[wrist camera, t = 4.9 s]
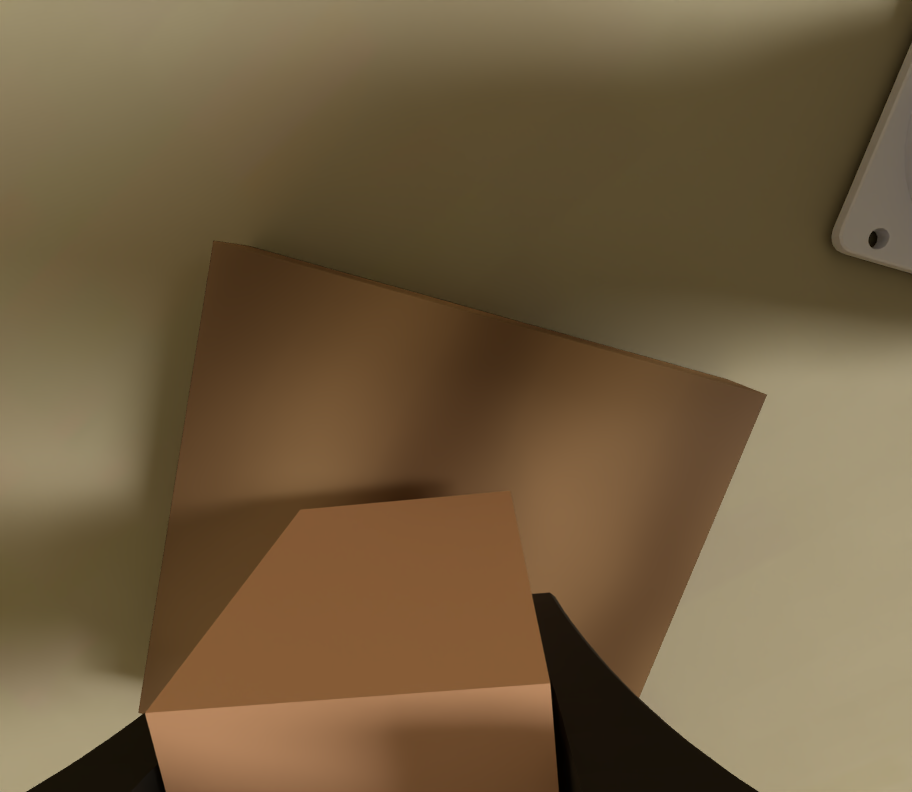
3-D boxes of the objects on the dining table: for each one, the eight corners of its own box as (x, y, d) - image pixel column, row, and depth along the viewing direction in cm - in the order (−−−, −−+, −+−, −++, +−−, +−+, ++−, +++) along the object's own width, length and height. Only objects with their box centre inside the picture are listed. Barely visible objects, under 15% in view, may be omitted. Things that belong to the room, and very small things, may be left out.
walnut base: (727, 379, 15) (766, 394, 13) (573, 762, 18) (586, 821, 16) (248, 245, 14) (213, 240, 12) (175, 663, 17) (138, 712, 15)
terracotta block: (510, 490, 12) (550, 683, 6) (526, 675, 13) (574, 993, 7) (300, 509, 12) (145, 713, 6) (332, 690, 13) (223, 1010, 7)
